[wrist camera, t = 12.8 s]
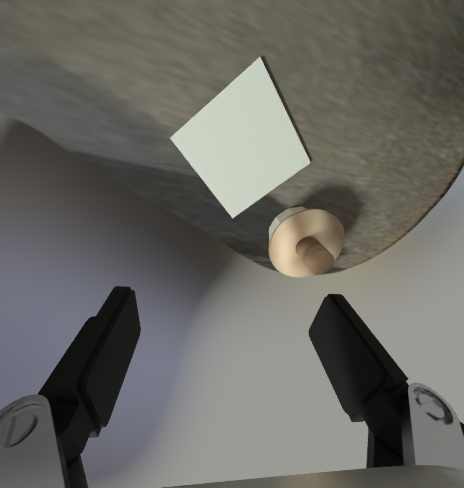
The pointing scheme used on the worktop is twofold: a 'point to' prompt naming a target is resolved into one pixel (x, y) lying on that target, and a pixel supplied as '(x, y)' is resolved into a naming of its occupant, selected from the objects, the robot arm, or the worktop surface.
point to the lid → (306, 243)
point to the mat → (243, 141)
